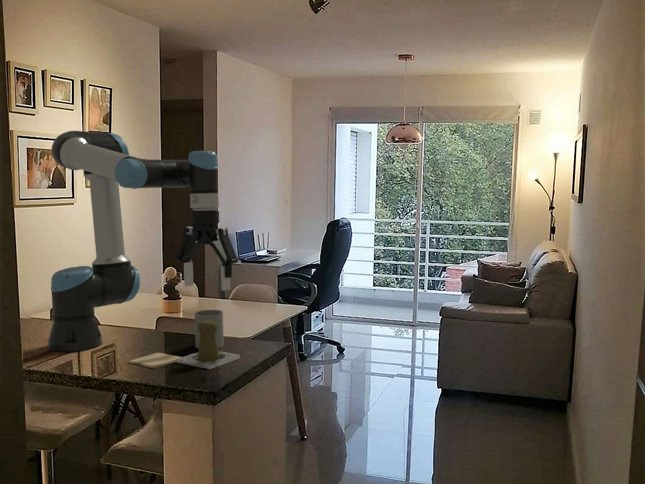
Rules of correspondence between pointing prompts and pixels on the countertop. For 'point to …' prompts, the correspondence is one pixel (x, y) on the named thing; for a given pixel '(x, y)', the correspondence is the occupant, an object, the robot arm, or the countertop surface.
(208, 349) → the pepper shaker
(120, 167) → the robot arm
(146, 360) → the coaster
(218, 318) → the cup
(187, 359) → the plate
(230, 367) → the countertop surface
